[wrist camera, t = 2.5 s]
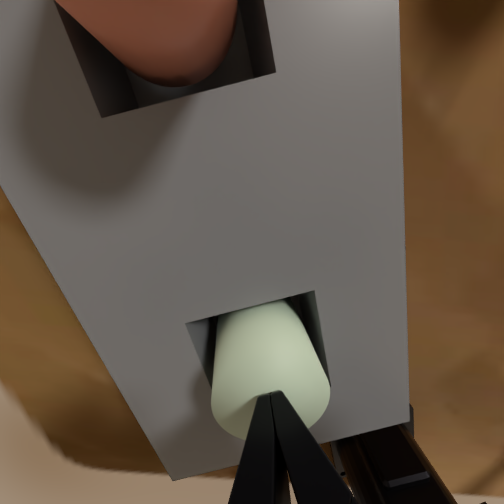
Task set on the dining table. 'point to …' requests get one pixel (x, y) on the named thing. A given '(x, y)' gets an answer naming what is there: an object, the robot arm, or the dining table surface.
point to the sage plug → (265, 365)
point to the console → (219, 205)
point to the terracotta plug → (161, 35)
